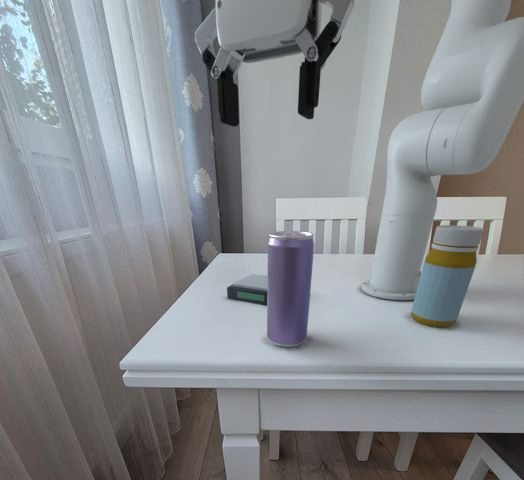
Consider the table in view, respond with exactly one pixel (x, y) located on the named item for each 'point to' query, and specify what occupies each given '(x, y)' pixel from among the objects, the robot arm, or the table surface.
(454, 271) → the bottle
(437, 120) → the robot arm
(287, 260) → the beverage can
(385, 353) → the table surface
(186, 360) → the table surface
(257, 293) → the scale
